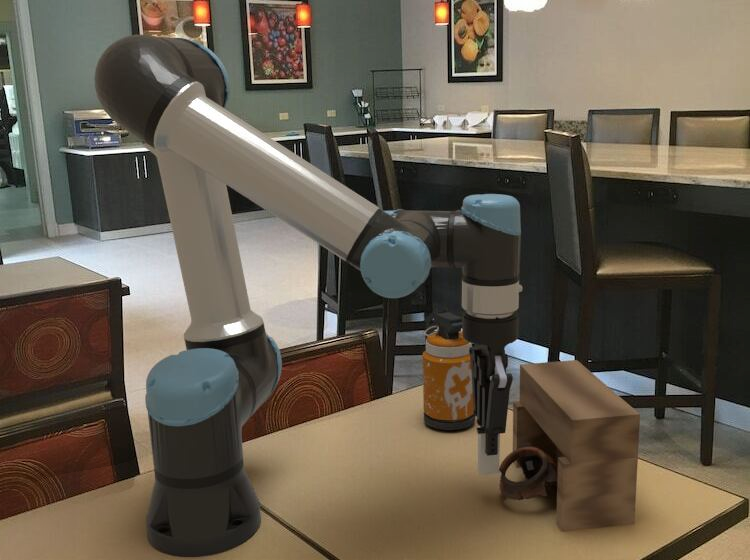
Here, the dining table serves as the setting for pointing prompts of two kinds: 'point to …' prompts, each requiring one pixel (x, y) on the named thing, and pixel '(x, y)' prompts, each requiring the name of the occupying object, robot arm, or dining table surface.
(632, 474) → the hutch
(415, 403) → the dining table surface
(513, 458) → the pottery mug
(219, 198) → the robot arm
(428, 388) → the canister
